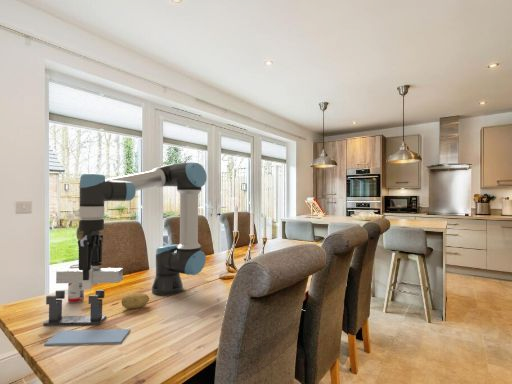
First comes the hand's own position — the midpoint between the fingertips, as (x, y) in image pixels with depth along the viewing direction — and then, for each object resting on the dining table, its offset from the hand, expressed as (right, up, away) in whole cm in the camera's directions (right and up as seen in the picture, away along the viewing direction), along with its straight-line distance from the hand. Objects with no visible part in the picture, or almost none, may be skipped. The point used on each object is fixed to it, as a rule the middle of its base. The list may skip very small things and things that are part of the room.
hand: (90, 286), depth 100 cm
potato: (+4, -18, +26) cm, 32 cm away
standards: (-12, -17, +12) cm, 24 cm away
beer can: (-25, -17, +33) cm, 45 cm away
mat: (0, -17, 0) cm, 17 cm away
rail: (0, +2, 0) cm, 2 cm away
